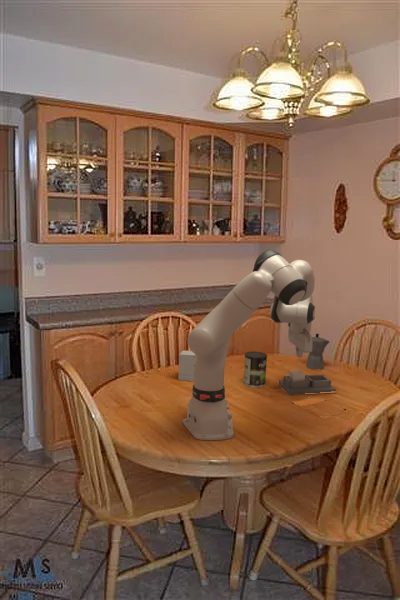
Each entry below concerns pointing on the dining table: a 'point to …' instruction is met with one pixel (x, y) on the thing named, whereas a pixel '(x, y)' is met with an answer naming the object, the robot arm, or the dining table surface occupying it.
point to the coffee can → (255, 369)
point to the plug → (297, 376)
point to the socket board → (307, 385)
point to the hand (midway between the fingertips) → (299, 356)
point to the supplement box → (187, 365)
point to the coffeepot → (317, 353)
